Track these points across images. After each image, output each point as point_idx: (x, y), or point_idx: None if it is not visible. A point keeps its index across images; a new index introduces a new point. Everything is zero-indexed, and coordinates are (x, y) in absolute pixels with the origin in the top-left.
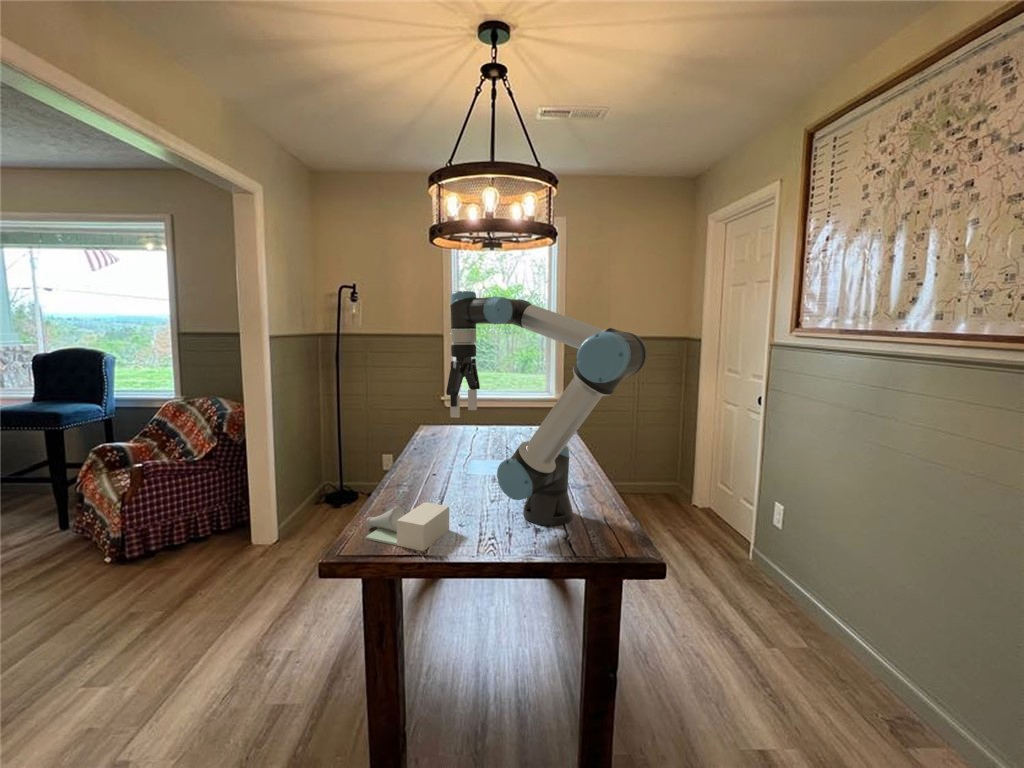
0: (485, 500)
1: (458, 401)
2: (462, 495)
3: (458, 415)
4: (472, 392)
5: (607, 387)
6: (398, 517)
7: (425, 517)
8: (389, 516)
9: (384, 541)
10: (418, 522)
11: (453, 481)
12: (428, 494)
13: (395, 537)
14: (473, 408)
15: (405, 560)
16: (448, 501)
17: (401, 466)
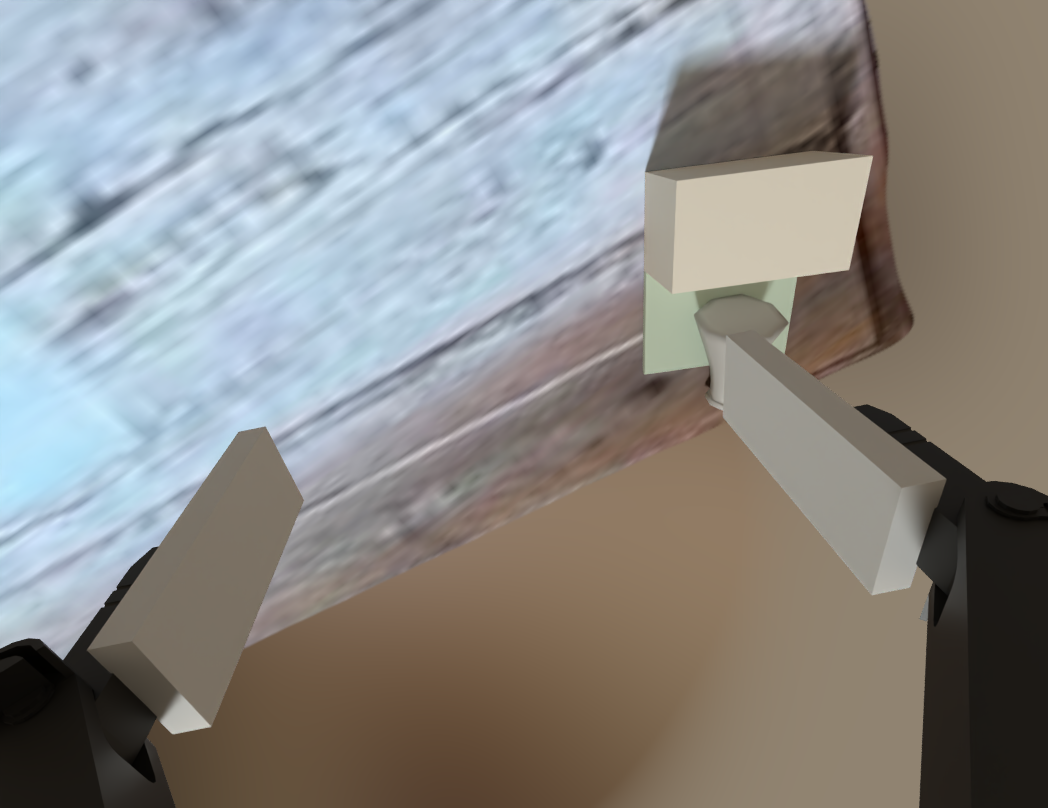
0: (331, 209)
1: (871, 428)
2: (350, 320)
3: (767, 343)
4: (191, 637)
5: None
6: (745, 318)
7: (805, 195)
8: (782, 330)
9: (792, 293)
10: (853, 188)
11: None
12: (420, 420)
13: (767, 281)
14: (271, 462)
15: (877, 162)
16: (431, 327)
17: (274, 629)
